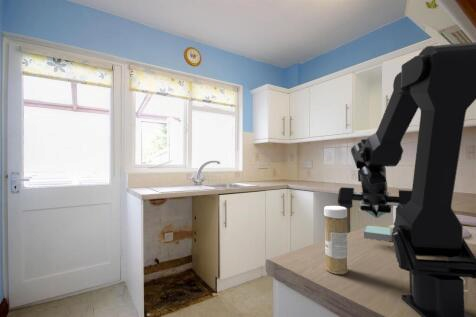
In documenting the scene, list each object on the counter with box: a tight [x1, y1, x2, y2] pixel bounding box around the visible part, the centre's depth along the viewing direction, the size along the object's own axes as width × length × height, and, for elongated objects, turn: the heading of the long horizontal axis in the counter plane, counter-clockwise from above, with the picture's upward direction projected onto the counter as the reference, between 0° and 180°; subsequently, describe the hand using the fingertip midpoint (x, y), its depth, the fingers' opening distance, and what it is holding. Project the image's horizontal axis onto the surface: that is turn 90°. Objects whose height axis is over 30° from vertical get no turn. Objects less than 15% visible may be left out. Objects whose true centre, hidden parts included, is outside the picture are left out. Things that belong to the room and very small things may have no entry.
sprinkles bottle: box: [323, 205, 349, 275], centre depth 49 cm, size 5×5×13 cm
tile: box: [363, 224, 393, 243], centre depth 72 cm, size 2×7×8 cm
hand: (376, 216), depth 69 cm, fingers closed
